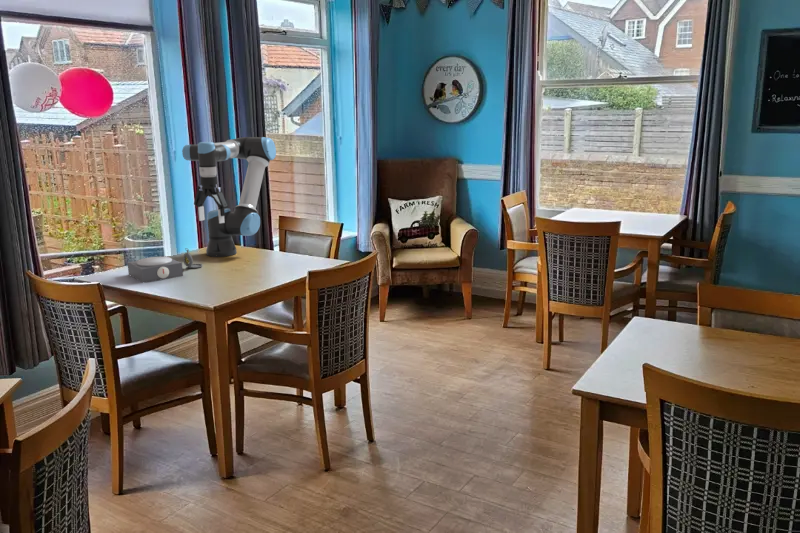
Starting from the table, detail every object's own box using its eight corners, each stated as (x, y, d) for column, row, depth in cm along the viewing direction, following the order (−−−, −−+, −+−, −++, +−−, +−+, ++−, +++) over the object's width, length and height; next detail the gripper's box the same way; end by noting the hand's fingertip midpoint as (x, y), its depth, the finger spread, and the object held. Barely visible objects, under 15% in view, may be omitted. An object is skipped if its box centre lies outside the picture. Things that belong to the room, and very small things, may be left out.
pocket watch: (204, 265, 324) (203, 245, 322) (197, 270, 316) (196, 249, 314) (188, 265, 325) (186, 245, 323) (181, 269, 317) (179, 248, 315)
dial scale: (128, 275, 308) (127, 260, 306) (167, 268, 319) (166, 254, 317) (143, 283, 294) (142, 267, 292) (183, 276, 305) (182, 261, 303)
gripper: (183, 175, 315) (187, 220, 320) (220, 178, 301) (224, 225, 306) (196, 173, 321) (200, 218, 326) (233, 176, 307) (236, 222, 312)
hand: (211, 221), depth 316 cm, fingers open, 13 cm apart
